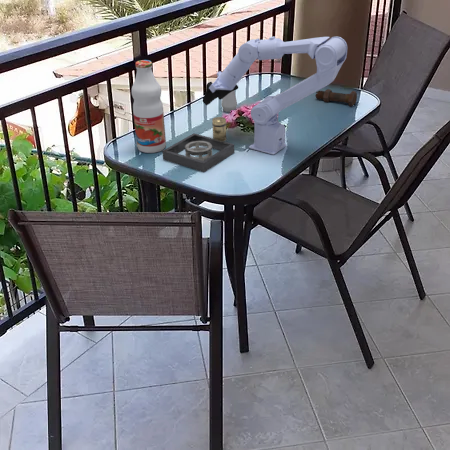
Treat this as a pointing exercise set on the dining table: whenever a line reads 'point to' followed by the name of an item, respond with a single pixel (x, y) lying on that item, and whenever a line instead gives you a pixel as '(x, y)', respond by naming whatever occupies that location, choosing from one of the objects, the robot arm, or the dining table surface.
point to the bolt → (337, 96)
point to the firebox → (198, 152)
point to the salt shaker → (229, 102)
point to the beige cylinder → (219, 128)
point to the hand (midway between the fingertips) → (211, 100)
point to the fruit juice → (148, 110)
